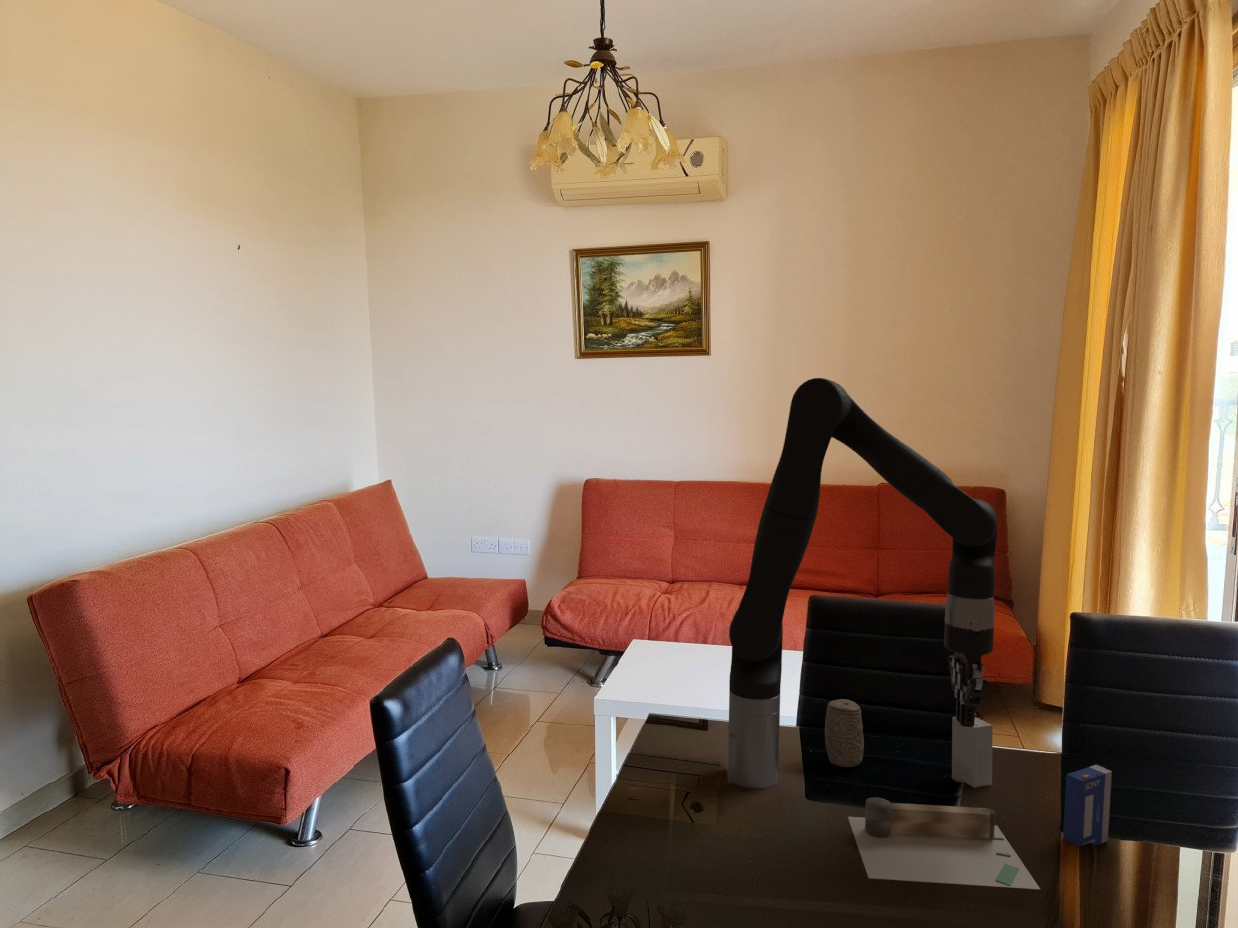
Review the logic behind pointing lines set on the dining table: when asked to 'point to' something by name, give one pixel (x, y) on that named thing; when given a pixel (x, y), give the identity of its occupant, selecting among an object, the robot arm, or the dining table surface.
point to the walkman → (1087, 806)
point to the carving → (844, 733)
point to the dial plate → (941, 858)
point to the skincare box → (972, 753)
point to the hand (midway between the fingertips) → (964, 723)
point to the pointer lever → (927, 820)
